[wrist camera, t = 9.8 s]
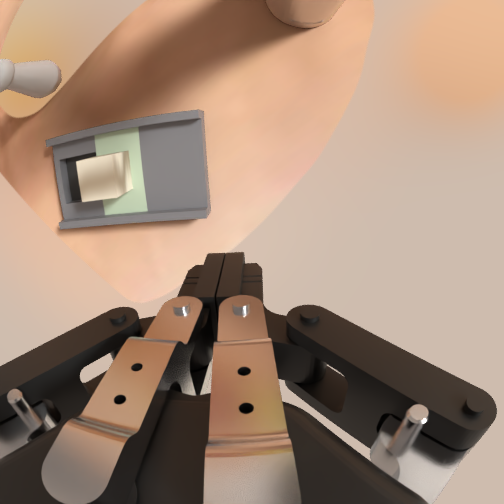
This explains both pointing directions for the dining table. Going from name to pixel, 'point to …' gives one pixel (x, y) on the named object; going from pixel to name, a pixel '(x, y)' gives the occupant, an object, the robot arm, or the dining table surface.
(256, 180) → the dining table surface
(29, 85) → the salt shaker
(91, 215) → the trap lane
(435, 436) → the robot arm
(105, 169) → the maple block
